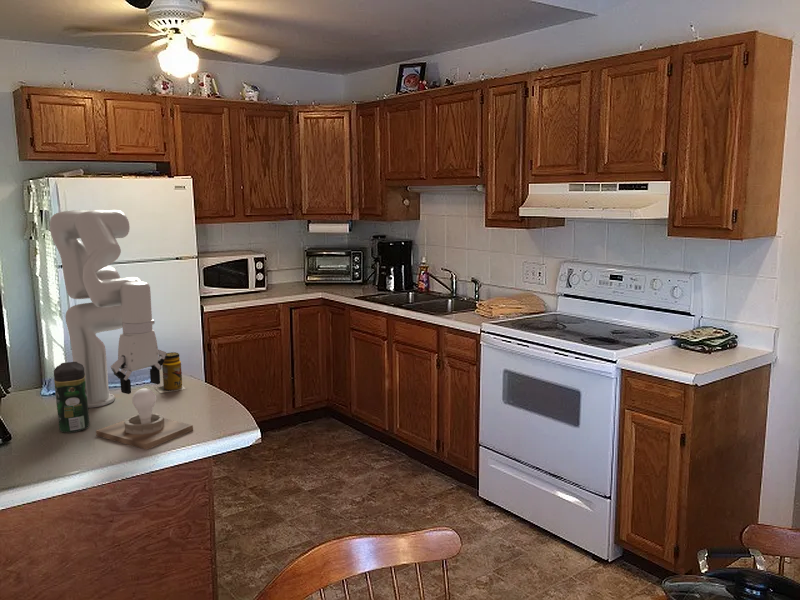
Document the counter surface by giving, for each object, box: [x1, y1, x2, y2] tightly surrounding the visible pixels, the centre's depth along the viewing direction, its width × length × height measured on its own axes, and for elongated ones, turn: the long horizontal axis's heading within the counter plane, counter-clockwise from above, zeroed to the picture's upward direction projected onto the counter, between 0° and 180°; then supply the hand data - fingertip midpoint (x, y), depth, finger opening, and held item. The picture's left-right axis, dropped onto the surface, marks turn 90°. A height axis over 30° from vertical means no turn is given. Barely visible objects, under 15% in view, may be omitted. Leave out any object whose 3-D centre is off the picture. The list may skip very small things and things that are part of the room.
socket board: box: [95, 412, 194, 450], centre depth 186 cm, size 20×16×4 cm
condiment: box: [154, 351, 187, 394], centre depth 225 cm, size 7×8×12 cm
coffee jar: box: [53, 361, 90, 433], centre depth 189 cm, size 10×8×19 cm
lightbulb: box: [131, 387, 157, 424], centre depth 186 cm, size 6×6×11 cm
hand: (141, 388), depth 184 cm, fingers open, 9 cm apart
